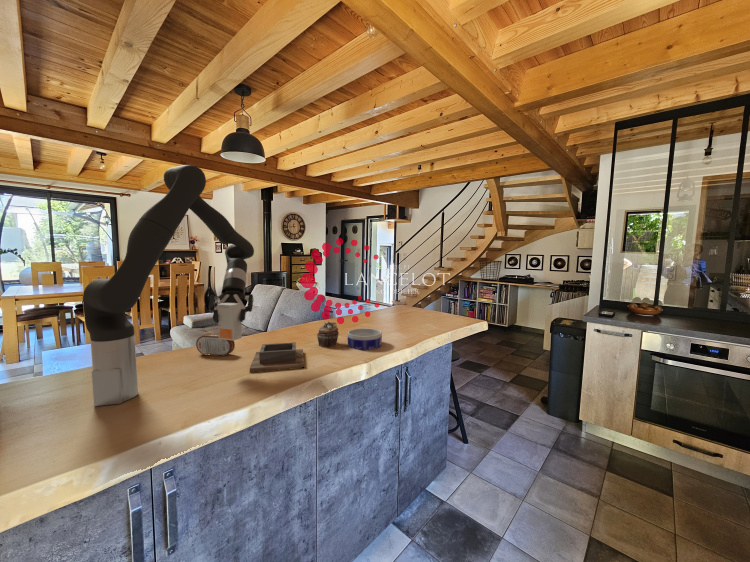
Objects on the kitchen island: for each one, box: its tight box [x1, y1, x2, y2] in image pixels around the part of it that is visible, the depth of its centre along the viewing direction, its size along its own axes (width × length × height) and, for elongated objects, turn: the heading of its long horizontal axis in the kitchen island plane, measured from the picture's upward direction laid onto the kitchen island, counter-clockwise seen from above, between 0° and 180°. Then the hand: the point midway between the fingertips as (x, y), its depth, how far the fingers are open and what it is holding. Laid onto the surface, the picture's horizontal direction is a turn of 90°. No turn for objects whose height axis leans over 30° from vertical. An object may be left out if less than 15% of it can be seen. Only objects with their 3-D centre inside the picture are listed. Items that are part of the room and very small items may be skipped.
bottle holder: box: [249, 341, 305, 373], centre depth 115 cm, size 18×18×6 cm
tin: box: [195, 333, 236, 356], centre depth 122 cm, size 15×3×8 cm, turn 84°
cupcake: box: [316, 321, 340, 348], centre depth 137 cm, size 10×10×10 cm
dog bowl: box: [347, 327, 383, 351], centre depth 137 cm, size 15×15×6 cm
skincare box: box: [217, 303, 242, 342], centre depth 103 cm, size 6×4×12 cm
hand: (228, 321), depth 102 cm, fingers closed on skincare box, 7 cm apart
